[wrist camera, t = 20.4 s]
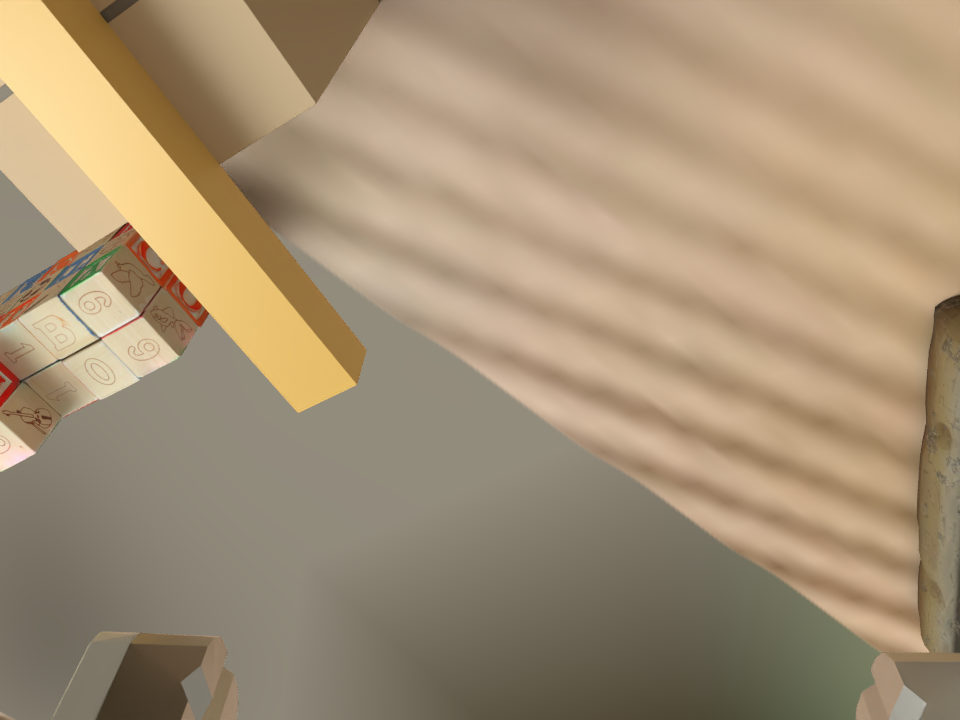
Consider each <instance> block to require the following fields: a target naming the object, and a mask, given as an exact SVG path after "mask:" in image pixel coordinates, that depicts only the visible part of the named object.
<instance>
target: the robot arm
mask: <svg viewBox="0 0 960 720" xmlns="http://www.w3.org/2000/svg"><path fill="white" fill-rule="evenodd" d="M226 656H227V650H226V647H225V644H224V642H223V639H222V637H220V636H219V637H218V636H197V635H173V634H150V633H149V634H148V633H132V632H131V633H130V632H100V633H99V634H98V635H97V636H96V637H95V638H94V639H93V640H92V642H91V643H90V644H89V645H88V647H87V649H86V651H85V653H84V655H83V657H82V659H81V661H80V663H79V665H78V667H77V669H76V671H75V673H74V675H73V677H72V679H71V681H70V683H69V685H68V687H67V689H66V691H65V693H64V695H63V697H62V699H61V701H60V703H59V705H58V707H57V709H56V711H55V713H54V715H53V717H52V719H51V720H236V719H237V711H238V703H239V702H238V687H237V683H236V679H235V676H234V674H233V673H231V672H230V671H229V670H227V669H226V668H225V667H223V665H224V662H225V659H226ZM871 672H872V675H873V678H874V680H875V684H874V685H872V686H871V687H869V688H867V689H866V690H864V691H863V692H862V693H861V696H860V699H859V702H858V705H857V708H856V720H960V653H908V652H883V653H881V654H880V655H878V656H877V657H876V658H875V661H874V663H873V665H872V668H871Z"/></svg>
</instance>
